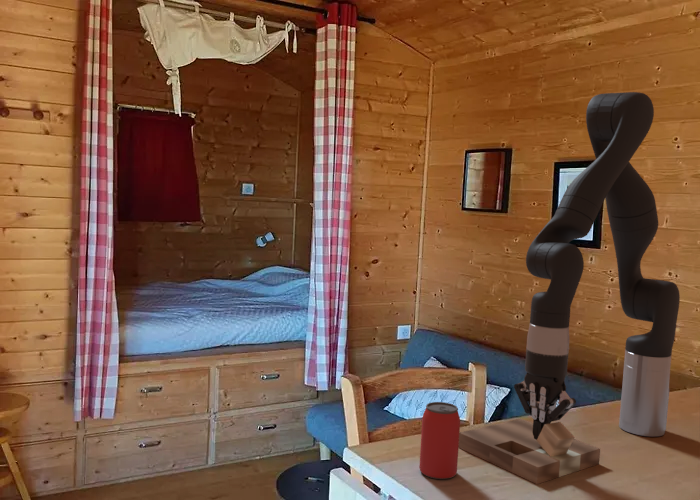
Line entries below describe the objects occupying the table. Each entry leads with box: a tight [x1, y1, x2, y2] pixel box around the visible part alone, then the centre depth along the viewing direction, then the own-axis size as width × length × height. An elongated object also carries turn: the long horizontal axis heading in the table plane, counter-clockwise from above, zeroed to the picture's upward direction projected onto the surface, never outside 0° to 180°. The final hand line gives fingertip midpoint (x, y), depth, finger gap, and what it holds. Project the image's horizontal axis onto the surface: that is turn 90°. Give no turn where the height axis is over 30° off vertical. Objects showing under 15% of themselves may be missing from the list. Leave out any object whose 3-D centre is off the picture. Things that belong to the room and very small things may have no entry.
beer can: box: [418, 401, 461, 480], centre depth 117 cm, size 7×7×12 cm
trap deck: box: [458, 418, 601, 485], centre depth 128 cm, size 18×19×3 cm
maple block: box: [537, 421, 576, 457], centre depth 121 cm, size 4×4×4 cm
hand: (540, 439), depth 125 cm, fingers closed
